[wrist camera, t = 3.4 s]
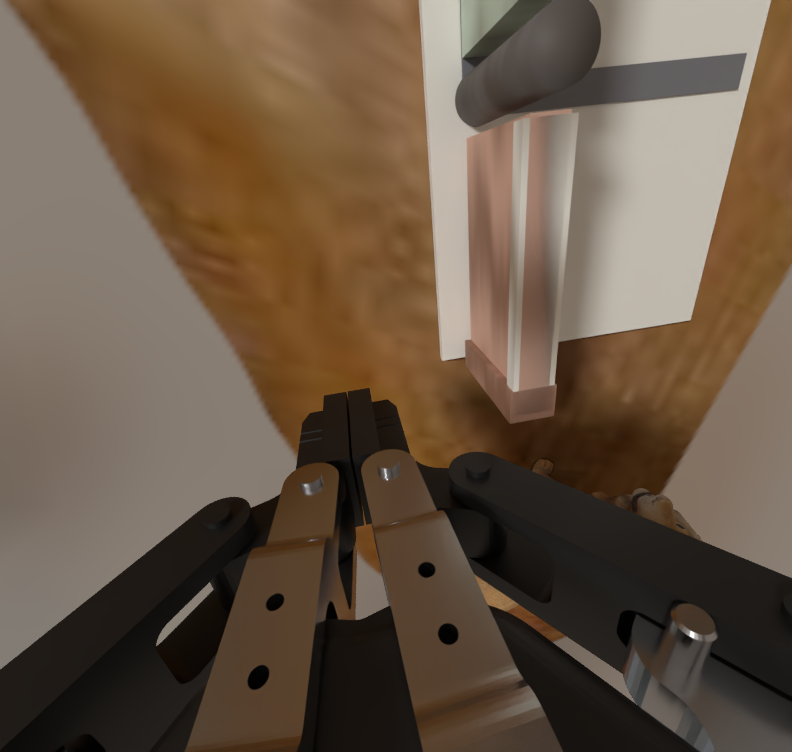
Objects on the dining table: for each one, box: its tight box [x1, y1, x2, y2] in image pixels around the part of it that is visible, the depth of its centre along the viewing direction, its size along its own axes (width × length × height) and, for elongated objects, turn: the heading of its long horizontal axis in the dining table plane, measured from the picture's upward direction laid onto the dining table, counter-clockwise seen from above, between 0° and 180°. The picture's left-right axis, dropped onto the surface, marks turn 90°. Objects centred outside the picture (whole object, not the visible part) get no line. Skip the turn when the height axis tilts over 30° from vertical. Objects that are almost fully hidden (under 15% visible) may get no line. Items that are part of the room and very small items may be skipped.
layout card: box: [419, 0, 771, 361], centre depth 15 cm, size 22×14×1 cm, turn 6°
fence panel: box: [465, 109, 579, 424], centre depth 15 cm, size 10×2×6 cm, turn 6°
